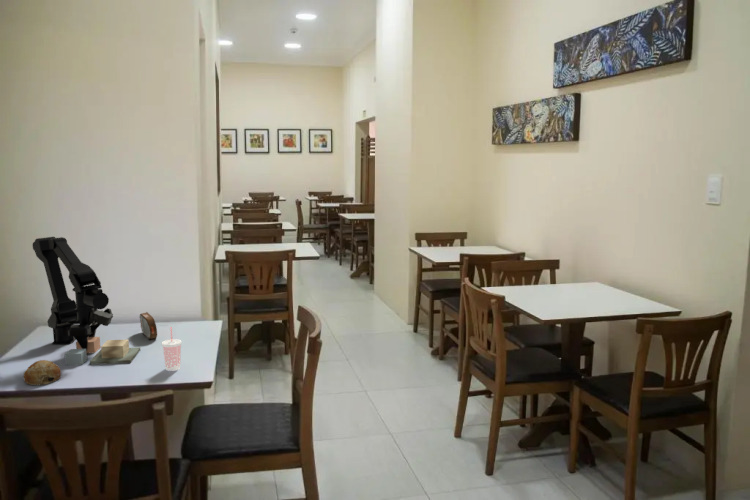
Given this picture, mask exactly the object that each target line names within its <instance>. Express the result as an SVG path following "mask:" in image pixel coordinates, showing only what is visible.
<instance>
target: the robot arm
mask: <svg viewBox="0 0 750 500" xmlns="http://www.w3.org/2000/svg"><path fill="white" fill-rule="evenodd" d="M32 250H33V252H34V253H35V256H36V258H37V259H39V260H40V261H41V262H42V264H43V266H44V269H45V273H46V277H47V281H48V285H49V289H50V293H51V296H52V300H53V302H52V303H51V307H50V313H51V314H50V316H49V317H48V319H47V326H48V328H51V329H52V334H53V342H52V343H51V345H66V344H67V345H68V344H69V345H71V344H72V343H73V342H74V341H76V342H77V341H78V343H79V344H80V346H81V347H82V349H86V351H87V347H88V337H96V332H97V329H98V328H99V327H100V326H104V327H108V326H109V325H110V324H111V321H112V319H113V317H114V316H113V315H114V314H113V312H112V309H111V308H109V307H107V306H108V304H109V301H110V299H109V297H108V295H107V294H106V293H105V292H103V289H102V285H101V283H102V282H101V281H100V279H99V277H98V276H97V273H96V272H95V271H94V269H93V268H92V267H90V265H88V264H86V263H84V262H82V261H81V260H80V258H79V257H78V255H77V254H76V253H75V252H74V250H73V249H72V248H71V246H70V245H69V244H68V240H67V239H66V238H65V237H62V236H61V237H55V236H47V237H46V236H45V237H39V238H38V237H37V238H36V239H34V241H33V242H32ZM59 260H60V261H61V262H62V264H63V265H64V266H65V269H66V270H68V279H69V280H70V281H69V282H70V283H71V285H72V286H73V288H72V290H71V291H72V292H74V295H75V300H74V299H71V298H70V297H69V296H68V295H69V294H68V292H67V288H66V284H65V281H64V277H63V272H62V269H61V266H60V263H59ZM103 309H104V310H103Z"/></svg>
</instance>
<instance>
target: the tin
mask: <svg viewBox="0 0 750 500" xmlns="http://www.w3.org/2000/svg"><path fill="white" fill-rule="evenodd" d="M139 320H140V321H139V322H140V328H141V331H142V334H143V335H144V336H145V337H146V338H147V339H148V340H153V339H157V338H158V328H157V323H156V320H155V318H154V317H153V316H152V315H151V314H150V313H149V312H148V311H146V312H143V313H140V314H139Z"/></svg>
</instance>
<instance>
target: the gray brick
mask: <svg viewBox="0 0 750 500" xmlns="http://www.w3.org/2000/svg"><path fill="white" fill-rule="evenodd" d="M87 354H88V353H86V349H76V348H70V349H69V350H68V351H67V352H66V353H64V357H65V366H82V365H83V364H84V363H85V362H86V361H87V360H88V355H87Z"/></svg>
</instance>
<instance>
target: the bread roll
mask: <svg viewBox="0 0 750 500" xmlns="http://www.w3.org/2000/svg"><path fill="white" fill-rule="evenodd" d="M61 376H62V370H61V368H60V366H59V365H58V364H56V363H54V361H51V360H48V359H47V360H46V359H42V360H41V359H40V360H38V361H34V362H33V363H32V364H30V365H29V366H28V367H27V369H26V370H25V371H24V373H23V382H25V384H27V385H31V386H42V385H48V384H51V383H54V382H56V381H58V380H59V379H60V378H61Z"/></svg>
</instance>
